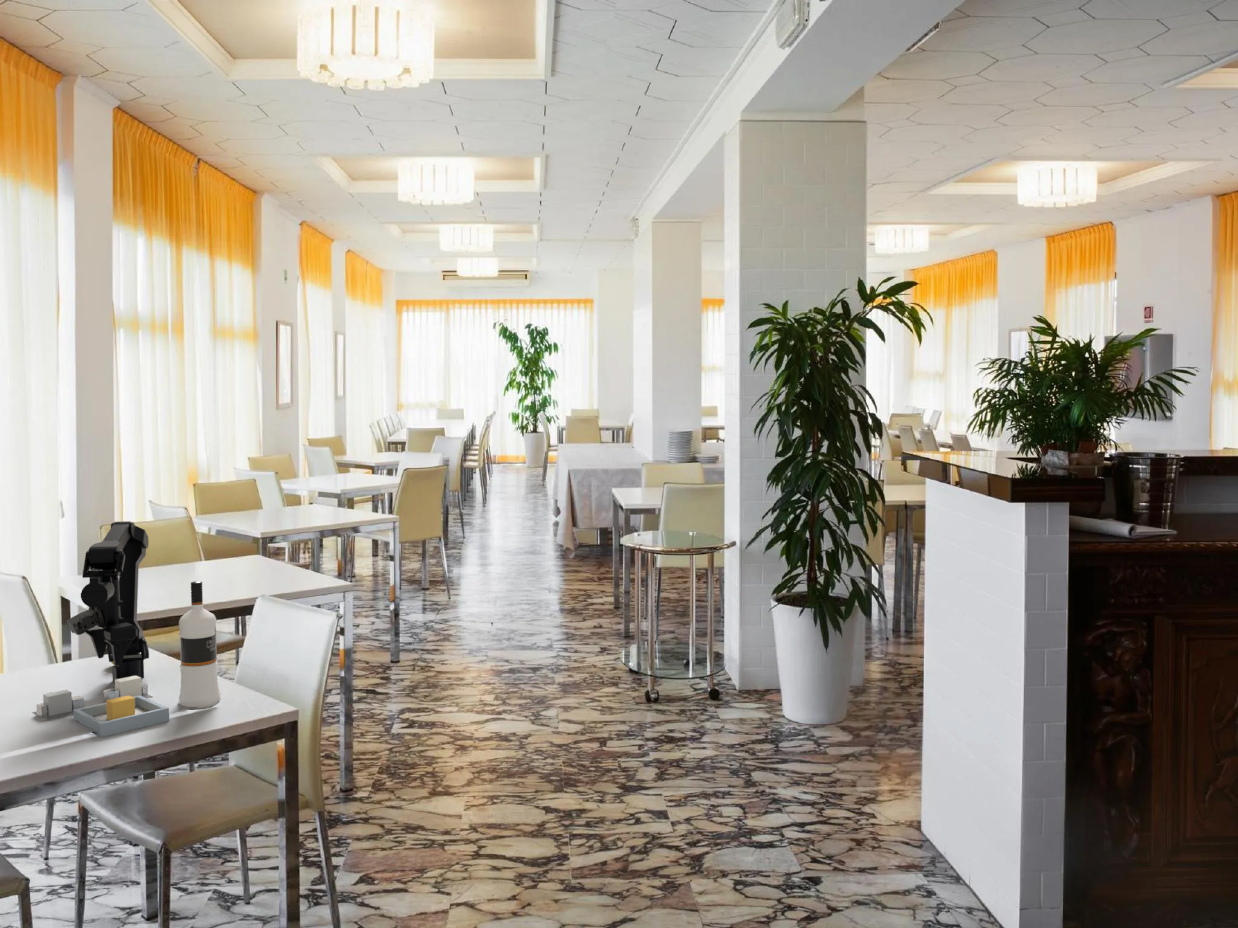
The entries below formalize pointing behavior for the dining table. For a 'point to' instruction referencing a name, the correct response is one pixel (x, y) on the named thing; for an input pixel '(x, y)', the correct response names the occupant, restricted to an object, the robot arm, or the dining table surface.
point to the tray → (123, 724)
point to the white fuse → (129, 686)
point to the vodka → (198, 654)
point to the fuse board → (86, 702)
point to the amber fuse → (120, 707)
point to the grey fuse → (58, 702)
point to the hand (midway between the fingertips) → (109, 661)
